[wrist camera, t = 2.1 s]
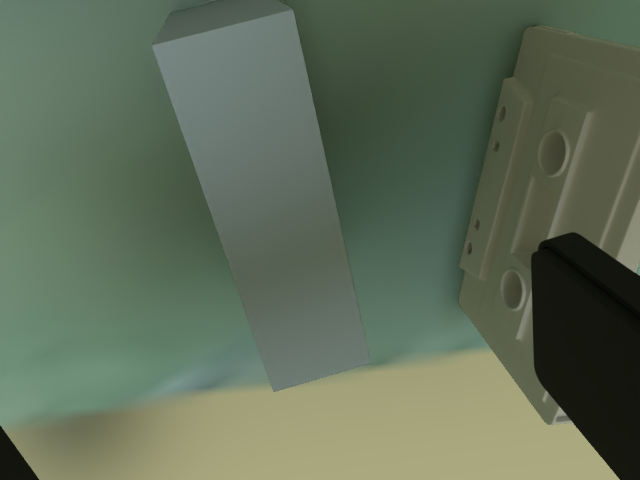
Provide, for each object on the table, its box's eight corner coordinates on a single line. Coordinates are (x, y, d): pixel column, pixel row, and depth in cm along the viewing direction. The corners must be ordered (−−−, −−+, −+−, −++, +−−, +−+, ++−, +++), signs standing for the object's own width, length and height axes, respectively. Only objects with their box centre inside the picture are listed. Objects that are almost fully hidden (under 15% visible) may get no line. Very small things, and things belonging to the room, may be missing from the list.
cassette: (483, 302, 25) (584, 428, 18) (446, 303, 25) (535, 432, 18) (558, 26, 20) (740, 63, 13) (512, 22, 19) (674, 58, 13)
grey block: (262, -11, 17) (293, 9, 11) (325, 250, 22) (370, 362, 16) (168, 13, 17) (148, 46, 11) (253, 271, 22) (271, 392, 16)
